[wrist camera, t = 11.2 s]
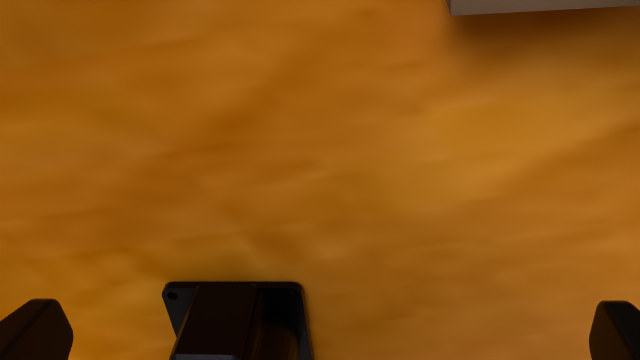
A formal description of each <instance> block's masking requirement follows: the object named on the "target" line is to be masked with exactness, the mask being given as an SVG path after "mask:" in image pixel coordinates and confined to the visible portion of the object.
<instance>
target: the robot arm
mask: <svg viewBox="0 0 640 360" xmlns="http://www.w3.org/2000/svg"><path fill="white" fill-rule="evenodd" d="M173 292H174V293H173ZM289 292H293V293H294V294H291V293H289ZM162 297H163V300H164V303H165V306H166V309H167V311H168V314H169V317H170V320H171V323H172V326H173V329H174V332H175V334H176V337H177V339H176V342H175V344H174V347H173V350H172V352H171V355H170V358H169V360H314V358H313V351H312V345H311V338H310V331H309V325H308V318H307V312H306V305H305V299H304V292H303V288H302V286H301V285H300V284H298V283H296V282H169V283H167V284H166V285H165V287H164V289H163V292H162ZM72 343H73V330H72V328H71V325H70V323H69V321H68V319H67V317H66V315H65V313H64V311H63V309H62V307H61V305H60V303H59V302H58V301H57V300H55V299H32V300H30V301H28V302H27V303H25V304H24V305H22V306H21V307H20V308H18V309H17V310H15V311H14V312H13V313H11V314H10V315H8V316H7V317H6V318H4V319H3V320H1V321H0V360H68V357H69V353H70V350H71V347H72ZM589 347H590V353H591V358H592V360H640V310H638V309H637V308H636V307H635V306H634V305H633V304H631V303H629V302H628V301H601V302H599V304H598V305H597V308H596V312H595V316H594V320H593V324H592V328H591V332H590V336H589Z"/></svg>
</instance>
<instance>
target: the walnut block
mask: <svg viewBox="0 0 640 360" xmlns="http://www.w3.org/2000/svg"><path fill="white" fill-rule="evenodd" d="M446 1H447V4H448V8H449V12H450V16H455V15H473V14H492V13H510V12H529V11H547V10H566V9H584V8H603V7H621V6H640V0H446Z"/></svg>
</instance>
